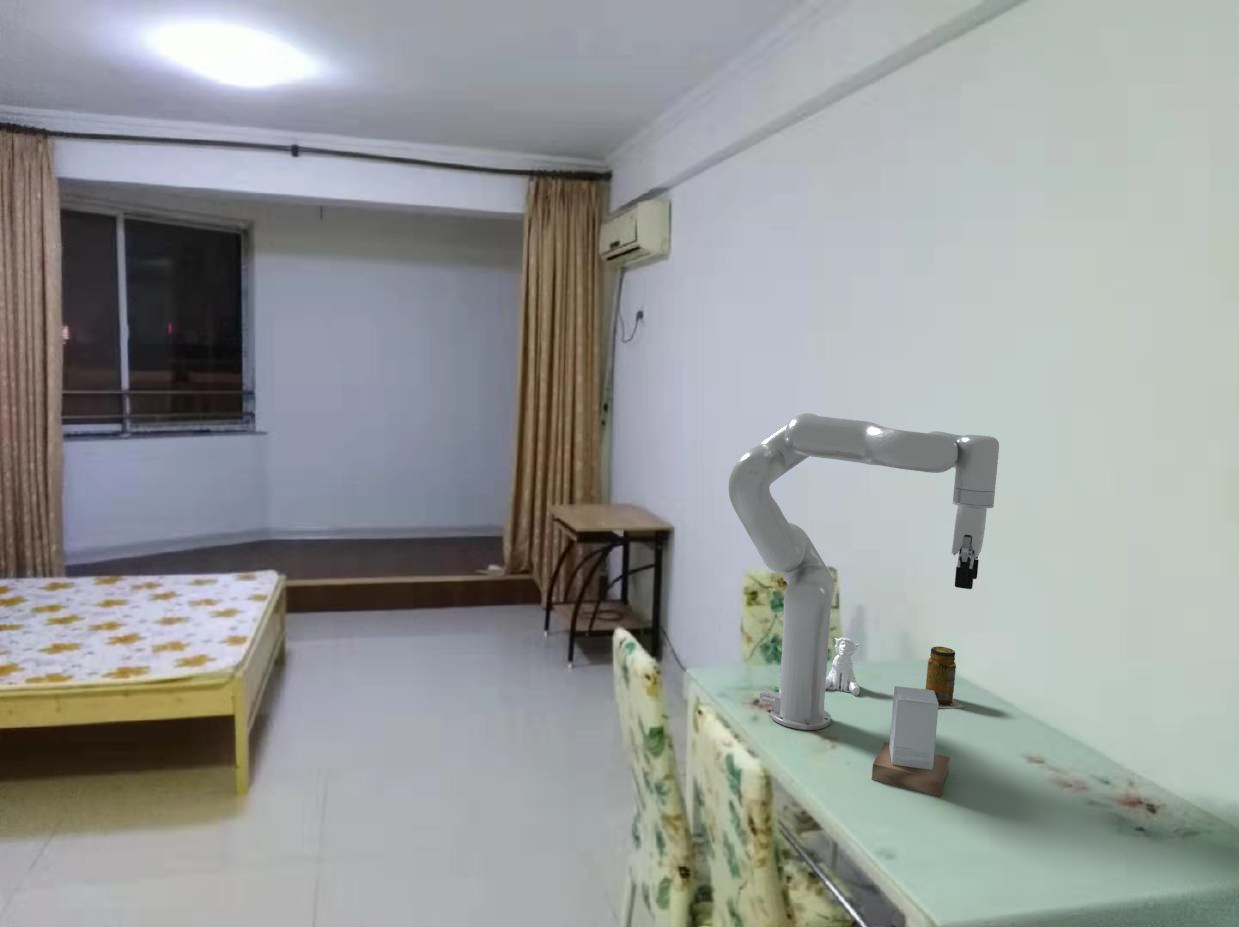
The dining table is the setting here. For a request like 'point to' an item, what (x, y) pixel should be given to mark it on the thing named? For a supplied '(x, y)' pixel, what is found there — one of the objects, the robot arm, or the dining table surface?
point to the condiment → (942, 676)
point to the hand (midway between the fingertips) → (965, 582)
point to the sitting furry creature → (843, 668)
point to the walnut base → (911, 773)
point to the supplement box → (913, 727)
